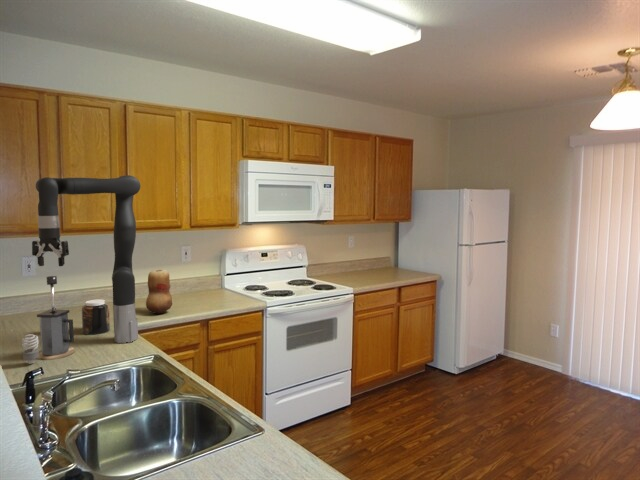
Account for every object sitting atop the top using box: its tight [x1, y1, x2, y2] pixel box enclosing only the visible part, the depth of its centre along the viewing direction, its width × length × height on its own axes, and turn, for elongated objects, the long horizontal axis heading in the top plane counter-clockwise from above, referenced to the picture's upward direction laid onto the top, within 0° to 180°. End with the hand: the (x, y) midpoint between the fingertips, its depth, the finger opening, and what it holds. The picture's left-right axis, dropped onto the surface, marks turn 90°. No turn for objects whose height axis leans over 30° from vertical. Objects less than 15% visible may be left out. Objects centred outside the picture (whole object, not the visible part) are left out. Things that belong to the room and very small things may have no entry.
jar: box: [81, 299, 111, 336], centre depth 222 cm, size 12×12×15 cm
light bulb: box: [21, 333, 40, 365], centre depth 179 cm, size 6×6×12 cm
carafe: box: [36, 309, 75, 356], centre depth 190 cm, size 13×10×17 cm
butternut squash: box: [145, 268, 173, 315], centre depth 256 cm, size 14×13×25 cm
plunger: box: [46, 275, 58, 313], centre depth 189 cm, size 7×7×20 cm
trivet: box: [37, 346, 75, 361], centre depth 191 cm, size 14×14×1 cm
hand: (51, 266), depth 188 cm, fingers open, 8 cm apart
